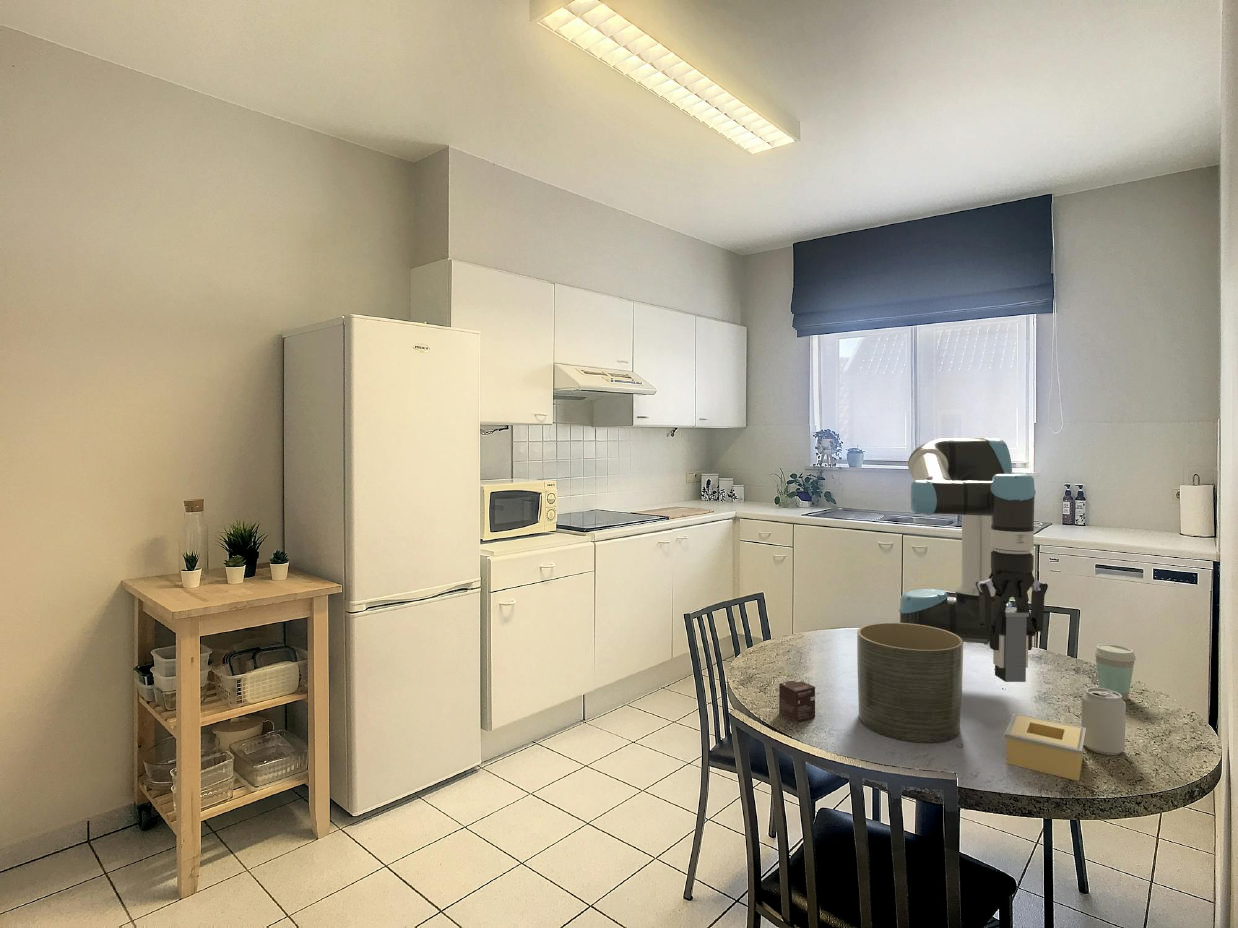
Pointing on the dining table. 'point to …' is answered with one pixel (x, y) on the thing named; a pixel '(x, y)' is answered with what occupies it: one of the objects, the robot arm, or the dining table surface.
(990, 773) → the dining table surface
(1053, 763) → the tan hollow block
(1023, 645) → the wedge pin
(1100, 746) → the can
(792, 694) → the box
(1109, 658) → the coffee cup
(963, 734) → the dining table surface
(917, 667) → the planter
